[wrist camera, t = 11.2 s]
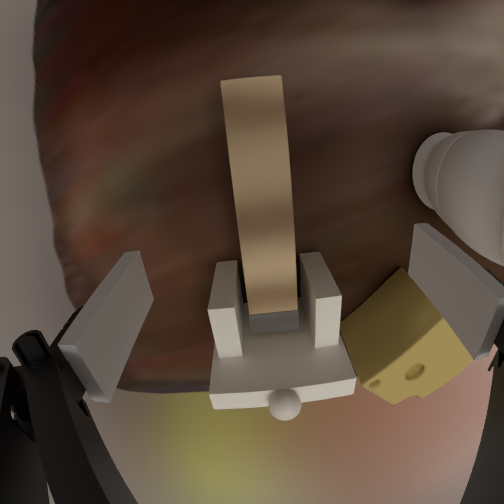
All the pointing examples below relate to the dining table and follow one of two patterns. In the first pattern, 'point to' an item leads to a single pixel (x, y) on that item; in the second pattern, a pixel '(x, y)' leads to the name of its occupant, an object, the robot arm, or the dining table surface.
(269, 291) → the rail
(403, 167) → the dining table surface
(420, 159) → the white cup
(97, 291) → the robot arm
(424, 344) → the cheese
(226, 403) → the white u-channel bracket
